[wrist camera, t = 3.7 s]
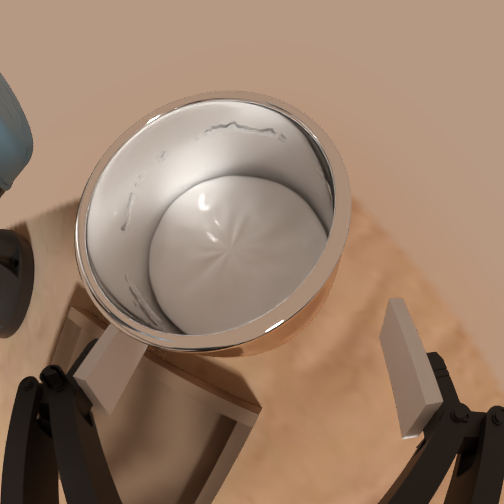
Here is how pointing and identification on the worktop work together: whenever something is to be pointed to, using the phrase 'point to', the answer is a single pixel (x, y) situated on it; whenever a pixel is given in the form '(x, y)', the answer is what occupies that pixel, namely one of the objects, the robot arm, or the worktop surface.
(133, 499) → the walnut tray
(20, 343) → the worktop surface
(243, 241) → the silver metal cup
